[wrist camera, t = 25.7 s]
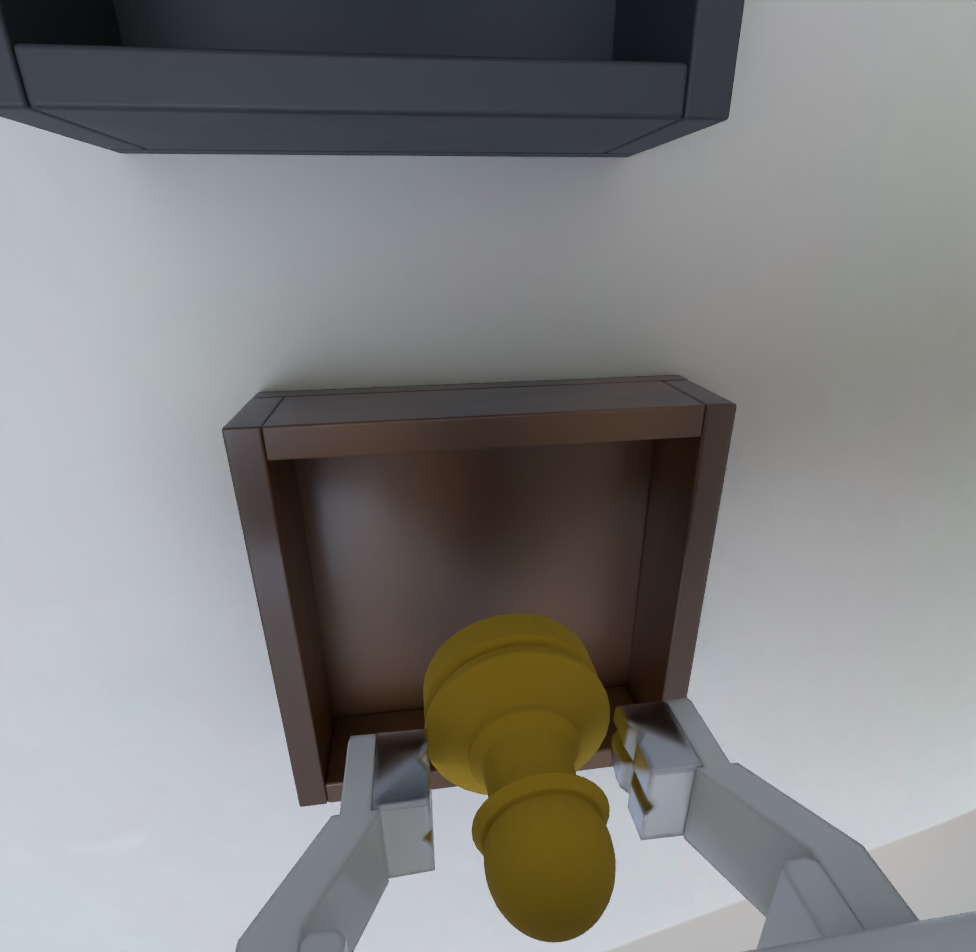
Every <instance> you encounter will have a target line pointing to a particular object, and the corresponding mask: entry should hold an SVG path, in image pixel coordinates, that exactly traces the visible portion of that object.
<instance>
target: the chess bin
mask: <svg viewBox="0 0 976 952" xmlns="http://www.w3.org/2000/svg"><path fill="white" fill-rule="evenodd" d="M735 412H736V404H735V403H733V402H731V401H729V400H727V399H725V398H723V397H721V396H719V395H717V394H715V393H713V392H711V391H709V390H707V389H705V388H703V387H701V386H699V385H697V384H694V383H692V382H690V381H688V379H686V378H684V377H682V376H680V375H667V376H643V377H619V378H595V379H571V380H547V381H523V382H499V383H474V384H450V385H426V386H402V387H378V388H354V389H330V390H306V391H282V392H259V393H257V394H256V395H255V396H254V397H253V399H251V400H250V401H249V402H248V403H247V404H246V405H245V406H244V407H243V408H242V409H241V410H240V411H239V412H238V413H237V414H236V415H235V416H234V417H233V418H232V419H231V420H230V421H229V422H228V423H227V424H226V425H225V426H224V427H223V429H222V433H223V438H224V443H225V447H226V452H227V457H228V462H229V467H230V472H231V476H232V481H233V486H234V491H235V496H236V500H237V505H238V510H239V515H240V520H241V525H242V529H243V534H244V539H245V544H246V549H247V553H248V558H249V563H250V568H251V573H252V578H253V582H254V587H255V592H256V597H257V602H258V607H259V611H260V616H261V621H262V626H263V631H264V635H265V640H266V645H267V650H268V655H269V660H270V664H271V669H272V674H273V679H274V684H275V688H276V693H277V698H278V703H279V708H280V713H281V717H282V722H283V727H284V732H285V737H286V741H287V746H288V751H289V756H290V761H291V766H292V770H293V775H294V780H295V785H296V790H297V794H298V799H299V804H300V806H301V807H302V806H310V805H318V804H326V803H327V802H338V801H341V799H342V791H343V782H344V773H345V765H346V756H347V748H348V742H349V739H350V737H351V736H356V735H367V734H377V733H385V732H396V731H408V730H419V729H424V728H425V717H424V698H423V686H424V678H425V674H426V671H427V669H428V666H429V663H430V662H431V660H432V658H433V657H434V655H435V654H436V652H437V651H438V649H439V648H440V647H441V646H442V645H443V644H444V643H445V642H446V641H447V640H448V639H449V638H450V637H452V636H453V635H455V634H456V633H457V632H459V631H460V630H462V629H463V628H465V627H467V626H469V625H471V624H473V623H475V622H477V621H480V620H483V619H486V618H490V617H493V616H497V615H504V614H512V613H520V614H534V615H539V616H543V617H547V618H550V619H552V620H555V621H557V622H559V623H561V624H563V625H564V626H566V627H567V628H569V629H570V630H571V631H573V632H574V633H575V635H576V636H577V637H578V638H579V639H580V640H581V641H582V643H583V645H584V647H585V649H586V651H587V652H588V655H589V657H590V659H591V661H592V664H593V666H594V668H595V670H596V673H597V675H598V678H599V680H600V681H601V683H602V685H603V687H604V689H605V690H606V692H607V696H608V700H609V705H610V723H609V726H608V730H607V733H606V736H605V738H604V740H603V741H602V743H601V745H600V747H599V749H598V750H597V751H596V752H595V754H594V755H593V756H592V757H591V759H590V760H589V761H588V762H587V763H585V764H584V765H583V766H582V767H581V768H580V769H579V770H578V771H580V770H588V769H596V768H604V767H611V766H613V764H612V756H611V737H612V736H613V734H614V733H615V732H616V731H617V728H616V726H615V723H614V721H613V718H614V711H615V709H616V707H617V706H623V705H631V704H639V703H647V702H655V701H664V700H673V699H681V698H687V692H688V686H689V680H690V675H691V669H692V663H693V657H694V651H695V645H696V640H697V634H698V628H699V622H700V616H701V610H702V604H703V599H704V593H705V587H706V581H707V575H708V569H709V564H710V558H711V552H712V546H713V540H714V534H715V528H716V523H717V517H718V511H719V505H720V499H721V493H722V488H723V482H724V476H725V470H726V464H727V458H728V452H729V447H730V441H731V435H732V429H733V423H734V417H735ZM429 759H430V758H429ZM430 776H431V790H432V789H439V788H447V787H455V786H457V785H455V784H453V783H451V782H450V781H449V780H447V779H446V778H445V777H443V776H442V775H441V774H440V773H439V772H438V771H437V769H436V768H435V767H434V766H433V764H432V763H431V761H430Z"/></svg>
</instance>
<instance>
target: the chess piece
mask: <svg viewBox="0 0 976 952" xmlns="http://www.w3.org/2000/svg"><path fill="white" fill-rule="evenodd" d="M423 698H424V717H425V728H424V729H427V733H428V745H429V758H430V761H431V763H432V764H433V766H434V767H435V768H436V769H437V771H438V772H439V773H440V774H441V775H442V776H443V777H445V778H446V779H447V780H449V781H450V782H451V783H453V784H455V785H457V786H459V787H461V788H463V789H465V790H469V791H472V792H476V793H479V794H486V795H488V797H489V798H488V799H487V800H486V801H485V802H484V803H483V804H482V806H481V807H480V808H479V810H478V811H477V813H476V815H475V817H474V820H473V825H472V837H473V841H474V843H475V845H476V847H477V849H478V850H479V851H480V852H481V853H482V855H483V856H484V866H485V875H486V880H487V884H488V887H489V890H490V892H491V895H492V897H493V899H494V901H495V903H496V905H497V907H498V909H499V910H500V912H501V913H502V914H503V915H504V917H505V918H506V919H507V920H508V921H509V922H510V923H511V924H512V925H513V926H514V927H515V928H516V929H518V930H519V931H521V932H522V933H524V934H525V935H527V936H529V937H532V938H534V939H537V940H540V941H545V942H562V941H567V940H570V939H574V938H576V937H578V936H580V935H582V934H583V933H585V932H586V931H587V930H589V929H590V928H591V927H592V926H593V925H594V924H595V923H596V922H597V921H598V920H599V918H600V917H601V915H602V914H603V912H604V911H605V909H606V907H607V905H608V903H609V900H610V897H611V894H612V891H613V887H614V882H615V853H614V848H613V844H612V840H611V837H610V834H609V831H608V829H607V826H606V824H607V821H608V818H609V803H608V799H607V797H606V795H605V794H604V792H603V791H602V789H600V788H599V787H598V786H597V785H596V784H595V783H593V782H592V781H590V780H588V779H586V778H584V777H580V776H577V775H576V773H575V772H576V771H578V770H579V769H580V768H581V767H582V766H583V765H584V764H585V763H587V762H588V761H589V760H590V759H591V757H592V756H593V755H594V754H595V752H596V751H597V750H598V749H599V747H600V745H601V743H602V741H603V740H604V738H605V736H606V733H607V730H608V726H609V723H610V705H609V700H608V696H607V692H606V690H605V689H604V687H603V685H602V683H601V681H600V680H599V678H598V675H597V673H596V670H595V668H594V666H593V664H592V661H591V659H590V657H589V655H588V652H587V651H586V649H585V647H584V645H583V643H582V641H581V640H580V639H579V638H578V637H577V636H576V635H575V633H574V632H573V631H571V630H570V629H569V628H567V627H566V626H564V625H563V624H561V623H559V622H557V621H555V620H552V619H550V618H547V617H543V616H539V615H534V614H520V613H512V614H504V615H497V616H493V617H490V618H486V619H483V620H480V621H477V622H475V623H473V624H471V625H469V626H467V627H465V628H463V629H462V630H460V631H459V632H457V633H456V634H455V635H453V636H452V637H450V638H449V639H448V640H447V641H446V642H445V643H444V644H443V645H442V646H441V647H440V648H439V649H438V651H437V652H436V654H435V655H434V657H433V658H432V660H431V662H430V663H429V666H428V669H427V671H426V674H425V678H424V686H423Z"/></svg>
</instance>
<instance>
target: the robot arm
mask: <svg viewBox="0 0 976 952" xmlns="http://www.w3.org/2000/svg"><path fill="white" fill-rule="evenodd" d="M613 721H614V723H615V726H616V728H617V731H616V732H615V733H614V734H613V736H612V737H611V756H612V764H613V768H614V771H615V775H616V778H617V780H618V783H619V786H620V787H621V788H622V789H624V790H625V791H626V792H627V793H629V794H630V795H629V803H628V809H629V811H630V814H631V816H632V819H633V821H634V824H635V826H636V829H637V831H638V834H639V836H640V839H641V840H646V839H655V838H664V837H673V836H681V835H684V839H685V840H686V841H687V842H688V843H689V844H691V845H692V846H693V847H694V848H695V849H696V850H697V851H698V852H699V853H700V854H701V855H702V856H703V857H704V858H705V859H706V860H707V861H708V862H709V863H710V864H711V865H712V866H713V867H714V868H715V869H716V870H717V871H718V872H720V873H721V874H722V875H723V876H724V877H725V878H726V879H727V880H728V881H729V882H730V883H731V884H732V885H733V886H734V887H735V888H736V889H737V890H738V891H739V892H740V893H741V894H742V895H743V896H744V897H745V898H746V899H747V900H749V901H750V902H751V903H752V904H753V905H754V906H755V907H756V908H757V909H758V910H759V911H760V912H761V913H762V914H763V915H764V916H765V917H766V921H765V924H764V927H763V931H762V934H761V937H760V940H759V943H758V947H757V949H755V950H750V951H744V952H976V911H972V912H967V913H961V914H956V915H949V916H944V917H939V918H932V919H927V920H922V921H919V919H918V918H917V917H916V915H915V914H914V913H913V912H912V910H911V909H910V908H909V906H908V905H907V904H906V902H905V901H904V900H903V898H902V897H901V896H900V894H899V893H898V892H897V890H896V889H895V888H894V886H893V885H892V884H891V882H890V881H889V880H888V878H887V877H886V876H885V874H884V873H883V872H882V870H881V869H880V868H879V867H878V865H877V864H876V863H875V861H874V860H873V858H872V857H871V856H870V855H869V853H868V852H867V851H866V849H865V848H864V847H863V845H861V844H860V843H858V842H857V841H855V840H854V839H852V838H851V837H849V836H848V835H846V834H845V833H843V832H842V831H840V830H839V829H837V828H836V827H834V826H833V825H831V824H830V823H828V822H827V821H825V820H823V819H822V818H820V817H819V816H817V815H816V814H814V813H813V812H811V811H810V810H808V809H807V808H805V807H804V806H802V805H801V804H799V803H798V802H796V801H795V800H793V799H792V798H790V797H789V796H787V795H786V794H784V793H783V792H781V791H780V790H778V789H777V788H775V787H773V786H772V785H770V784H769V783H767V782H766V781H764V780H763V779H761V778H760V777H758V776H757V775H755V774H754V773H752V772H751V771H749V770H748V769H746V768H745V767H743V766H742V765H740V764H739V763H730V762H729V760H728V759H727V757H726V755H725V754H724V752H723V751H722V749H721V747H720V746H719V744H718V743H717V741H716V740H715V738H714V736H713V735H712V733H711V732H710V730H709V728H708V727H707V725H706V724H705V722H704V720H703V719H702V717H701V716H700V714H699V713H698V711H697V709H696V708H695V706H694V705H693V703H692V701H690V700H689V699H688V698H681V699H673V700H664V701H655V702H647V703H639V704H631V705H623V706H617V707H616V709H615V711H614V718H613ZM433 870H435V861H434V836H433V819H432V795H431V776H430V759H429V745H428V733H427V729H419V730H408V731H396V732H385V733H377V734H367V735H356V736H351V737H350V739H349V742H348V748H347V756H346V765H345V773H344V782H343V791H342V799H341V808H340V815H335V816H331V818H330V819H329V820H328V822H327V823H326V824H325V826H324V827H323V828H322V830H321V831H320V832H319V834H318V835H317V836H316V838H315V839H314V840H313V842H312V843H311V844H310V846H309V847H308V848H307V850H306V851H305V852H304V854H303V855H302V856H301V858H300V859H299V860H298V862H297V863H296V864H295V866H294V867H293V868H292V870H291V871H290V872H289V874H288V875H287V876H286V878H285V879H284V880H283V882H282V883H281V884H280V886H279V887H278V888H277V890H276V891H275V892H274V894H273V895H272V896H271V898H270V899H269V900H268V902H267V903H266V904H265V906H264V907H263V908H262V910H261V911H260V912H259V914H258V915H257V916H256V918H255V919H254V920H253V922H252V923H251V924H250V926H249V927H248V928H247V930H246V931H245V932H244V934H243V935H242V936H241V938H240V939H239V940H238V943H237V947H236V951H235V952H353V951H354V949H355V947H356V945H357V943H358V941H359V939H360V937H361V935H362V933H363V931H364V929H365V927H366V925H367V923H368V922H369V920H370V918H371V916H372V914H373V912H374V910H375V908H376V906H377V904H378V902H379V900H380V898H381V896H382V894H383V892H384V890H385V888H386V886H387V884H388V882H389V880H388V878H393V877H399V876H404V875H410V874H416V873H421V872H427V871H433Z"/></svg>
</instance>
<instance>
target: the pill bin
mask: <svg viewBox="0 0 976 952" xmlns="http://www.w3.org/2000/svg"><path fill="white" fill-rule="evenodd" d="M743 8H744V0H0V116H1V117H4V118H7V119H11V120H14V121H17V122H20V123H24V124H27V125H30V126H34V127H37V128H40V129H43V130H47V131H50V132H53V133H56V134H60V135H63V136H66V137H70V138H73V139H76V140H79V141H83V142H86V143H89V144H92V145H96V146H99V147H102V148H106V149H109V150H112V151H115V152H119V153H149V154H281V155H413V156H544V157H629V156H632V155H634V154H638V153H640V152H643V151H646V150H648V149H651V148H654V147H656V146H659V145H661V144H664V143H667V142H669V141H672V140H675V139H677V138H680V137H683V136H685V135H688V134H691V133H693V132H696V131H699V130H701V129H704V128H706V127H709V126H712V125H714V124H717V123H720V122H722V121H725V120H727V119H728V117H729V110H730V103H731V96H732V88H733V81H734V74H735V66H736V59H737V52H738V44H739V37H740V30H741V22H742V15H743Z"/></svg>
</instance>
